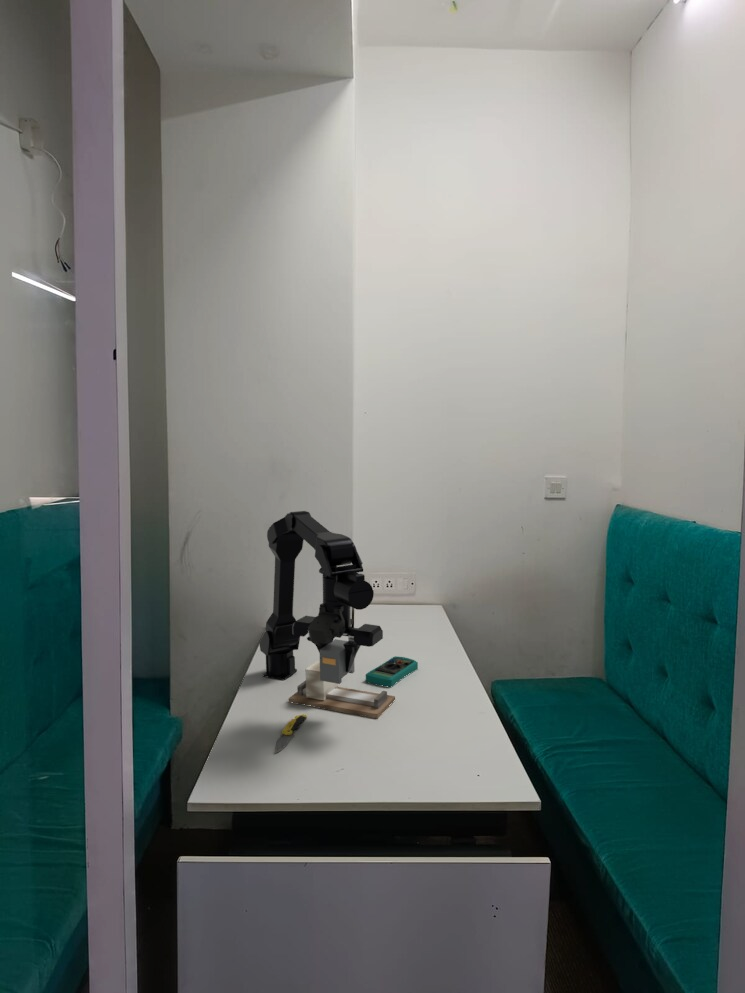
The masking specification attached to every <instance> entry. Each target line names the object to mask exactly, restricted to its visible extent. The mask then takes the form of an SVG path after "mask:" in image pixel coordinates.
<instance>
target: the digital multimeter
mask: <svg viewBox="0 0 745 993" xmlns="http://www.w3.org/2000/svg"><path fill="white" fill-rule="evenodd" d="M418 666H419V664H418V661H417V660H415V659H412V658H409V657H404V656H392V657H391V658H390V659H387V661H385V662H383V663H382V664H380V665H378V667H377V666H376V667H375V668H373V669H371V670H370V671H368V672H367V673H366V674H365V682H366V683H368V682H369V684H371V683H373V684H372V685H375V684H377V685H376V686H379V685H383V686H382V687H384V686H388V687H387V688H392V687H394V686H395V685H396V684H397V683H396V682H398V681H399V680H400V679H402V678H403V677H404V676H406V675H408V674H409V673H411V672H412V673H413V671H414V672H416V671H417V670H418V668H419V667H418ZM416 669H417V670H416ZM415 670H416V671H415ZM412 673H411V674H412ZM409 675H410V674H409ZM409 675H408V676H409ZM406 677H407V676H406ZM403 679H404V678H403ZM403 679H402V680H403ZM400 681H401V680H400ZM400 681H399V682H400ZM399 682H398V683H399ZM395 683H396V684H395ZM394 684H395V685H394ZM393 685H394V686H393ZM391 686H392V687H391Z"/></svg>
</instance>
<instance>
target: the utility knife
mask: <svg viewBox="0 0 745 993" xmlns="http://www.w3.org/2000/svg"><path fill="white" fill-rule="evenodd" d="M294 716H295V715H294ZM307 718H308V716H307V715H306V714H304V713H303V714H299V715H296V716H295V717H294V718H292V719H291V720H289V721H288V722H287V724H286V725H285V727H284V728H283V730H282V731H281V735H280V736H279V738H278V739H277V740H276V744H275V750H274V754H277V753H278V752H280V751H282V750H283V749H284V748H285V747H286V746H287V744H288V743H289V742H290V740H291V738H294V736H295V732H296V731H298V729H299V728H300V726H301V725H302V724H303V723H304V722H305V721H306V720H307Z"/></svg>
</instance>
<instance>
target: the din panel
mask: <svg viewBox="0 0 745 993" xmlns="http://www.w3.org/2000/svg"><path fill="white" fill-rule="evenodd" d="M296 690H297V691H296V692H295V693H294V694H292V695H291V696H289V697H288V703H289V702H293V703H292V704H294V703H298V704H297V705H300V704H305V705H311V706H315V707H314V708H316V707H320V708H319V709H322V708H325V709H324V710H327V709H329V710H330V711H333V710H334V711H333V712H338V711H339V713H344V712H345V714H349V713H350V715H355V714H357V715H356V716H361V717H366V718H371V717H372V718H373V719H377V720H378V719H379V718H380V717H381V716H382V715H383V714H384V713H385V712H386V711H387V710H386V709H387V708H390V706H391V705H392V704H393V703H394V702H395V701H396V696H395V695H390V694H388V691H386V690H382V691H381V692H380V693H377V692H373V691H372V692H371V691H365V690H361V689H353V688H347V687H341V686H339V684H337V683H331V682H326V681H321V680H320V659H318V660H316V661H315V662H313V664H311V665H310V666H308V667H306V668H305V680H304V681H303V682H301V683H300V684H299V685H297V689H296ZM394 700H395V701H394ZM393 701H394V702H393ZM392 702H393V703H392ZM391 703H392V704H391ZM390 704H391V705H390ZM305 705H304V706H305ZM389 705H390V706H389ZM311 706H310V707H311ZM329 710H328V711H329ZM385 710H386V711H385ZM384 711H385V712H384ZM383 712H384V713H383ZM382 713H383V714H382ZM372 718H371V719H372Z"/></svg>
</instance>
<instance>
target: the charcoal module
mask: <svg viewBox="0 0 745 993" xmlns="http://www.w3.org/2000/svg"><path fill="white" fill-rule="evenodd" d="M346 642H348V640H345V639H344V640H343V639H342V640H341V639H336V638H334V639H333V641H332V642H331V643H330V644H327V645H326V646H324V647H323V648H321V649H320V653H319V660H320V680H321V681H326V682H331V683H337V684H338V685H340V684H341V683H343V681H342V679H343V678H344V677H345V676H347V675H348V674H353V673H355V660H354V661H353V664H352V666H351V669H350V671H349V672H346V667H345V660H346V649H345V647H344V645H343V644H345V643H346Z"/></svg>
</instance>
